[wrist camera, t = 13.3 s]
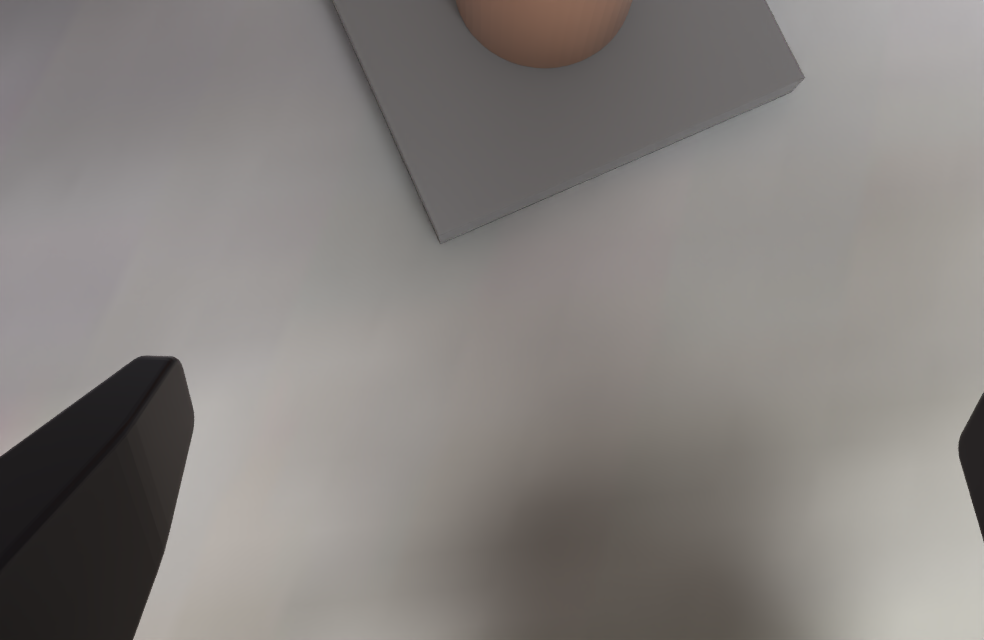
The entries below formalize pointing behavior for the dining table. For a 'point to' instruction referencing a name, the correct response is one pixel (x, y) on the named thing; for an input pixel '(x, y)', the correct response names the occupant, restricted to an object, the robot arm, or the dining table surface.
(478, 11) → the terracotta cylinder
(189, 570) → the dining table surface
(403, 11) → the mat
